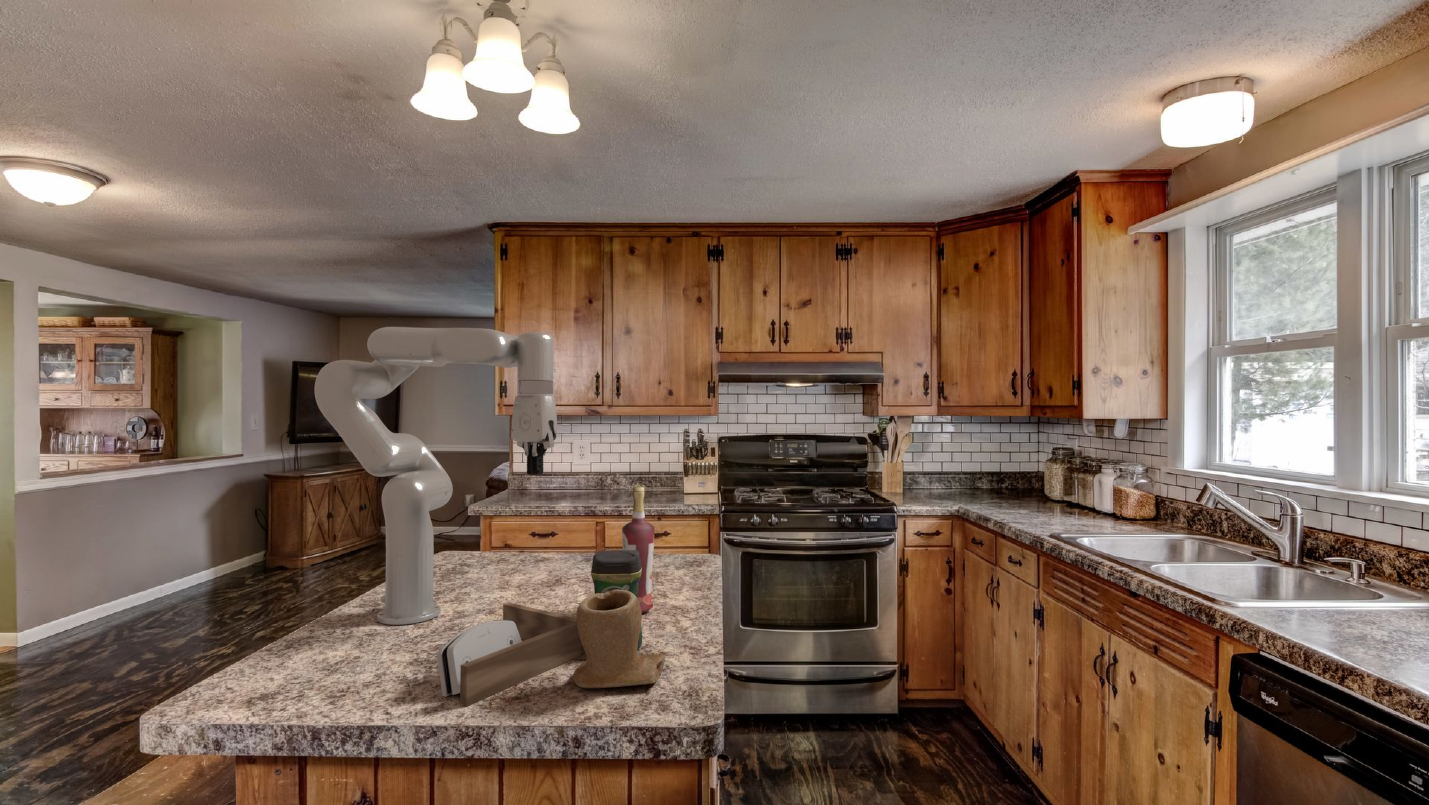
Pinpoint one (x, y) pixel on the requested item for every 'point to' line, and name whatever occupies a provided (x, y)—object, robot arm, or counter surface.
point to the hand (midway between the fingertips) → (535, 474)
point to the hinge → (472, 650)
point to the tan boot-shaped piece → (613, 643)
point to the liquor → (641, 547)
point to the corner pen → (522, 653)
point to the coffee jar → (617, 573)
